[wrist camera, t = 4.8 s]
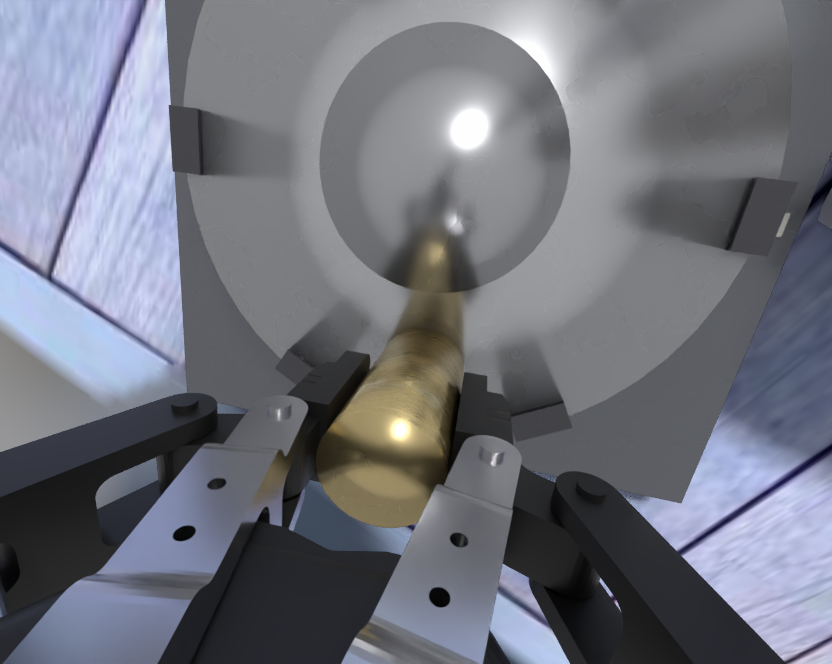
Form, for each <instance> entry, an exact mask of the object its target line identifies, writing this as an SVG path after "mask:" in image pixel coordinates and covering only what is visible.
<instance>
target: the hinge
mask: <svg viewBox="0 0 832 664" xmlns="http://www.w3.org/2000/svg"><path fill="white" fill-rule="evenodd" d="M818 222H820V223H821V224H823V225H824V226H826V227H828V228H829V229H831V230H832V188H831V190H830V192H829V194H828V196H827V197H826V199H825V201H824V203H823V205H822V207H821V210H820V214H819V218H818Z"/></svg>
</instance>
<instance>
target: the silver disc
mask: <svg viewBox="0 0 832 664" xmlns="http://www.w3.org/2000/svg"><path fill="white" fill-rule="evenodd" d="M791 90H792V69H791V58H790V47H789V36H788V26H787V21H786V17H785V13H784V9H783V5H782V1H781V0H205V1H204V4H203V7H202V9H201V12H200V15H199V18H198V21H197V25H196V29H195V34H194V38H193V42H192V47H191V51H190V55H189V60H188V67H187V76H186V85H185V93H184V107H181V106H173V105H169V116H170V132H171V149H172V166H173V171H175V172H182V173H187V179H188V184H189V188H190V193H191V198H192V202H193V207H194V211H195V215H196V218H197V221H198V225H199V228H200V231H201V234H202V237H203V240H204V243H205V246H206V248H207V251H208V253H209V255H210V257H211V259H212V262H213V264H214V266H215V268H216V270H217V273H218V275H219V277H220V279H221V281H222V283H223V284H224V286H225V288H226V289H227V291H228V293H229V294H230V296H231V298H232V299H233V301H234V303H235V305H236V306H237V308H238V309H239V310H240V312H241V313H242V315H243V316H244V317H245V319H246V320H247V321H248V323H249V324H250V325H251V327H252V328H253V329H254V331H255V332H256V333H257V334H258V335H259V337H260V338H261V339H262V340H263V341H264V342H265V343H266V344H267V345H268V346H269V347H270V348H271V349H272V350H273V352H274V353H275V354H276V355H277V356H278V357H279V358H280V359H281V360H280V361H279V363H278V364H277V366H276V367H275V369H276V370H277V371H279V372H280V373H281V374H283V375H284V376H285V377H286V378H288V379H289V380H290V381H292V382H293V383H294V384H296V385H297V384H298V383H299V382H300V381H302V379H303V378H304V377H305V376H306V375H308V373H309V372H310V371H311V370H312V369H314V368H315V367H316V366H318V365H321V364H323V363H326V362H333V363H335V362H336V361H337V360H338V359H339V358H340V357H341V356H342V355H343V353H344V352H345V351H347V350H349V351H354V352H360V353H365V354H369V355H370V370H369V372H368V373H367V375H366V376H365V377H364V379H363V380H362V382H361V383H360V385H359V386H358V387H357V389H356V390H355V392H354V393H353V395H352V396H351V397H350V399H349V400H348V402H347V403H346V405H345V406H344V407H343V409H342V410H341V412H340V413H339V414H338V416H337V417H336V419H335V420H334V422H333V423H332V424H331V426H330V427H329V429H328V430H327V432H326V433H325V434H324V436H323V437H322V439H321V441H320V443H319V446H318V449H317V454H316V469H317V474H318V478H319V481H320V483H321V485H322V487H323V489H324V491H325V492H326V494H327V495H328V497H329V498H330V499H331V500H332V502H333V503H334V504H335V505H336V506H337V507H339V508H340V509H341V510H342V511H343V512H345V513H346V514H348V515H349V516H351V517H353V518H355V519H357V520H359V521H361V522H364V523H366V524H370V525H373V526H378V527H386V528H398V527H404V526H409V525H412V524H415V523H417V522H418V521H419V519H420V517H421V515H422V513H423V511H424V509H425V507H426V505H427V503H428V501H429V499H430V497H431V495H432V493H433V491H434V489H435V487H436V486H437V484H442V485H444V484H445V482H446V479H447V477H448V473H449V465H450V459H451V452H452V446H453V439H454V433H455V426H456V420H457V413H458V407H459V400H460V394H461V388H462V383H463V377H464V372H469V373H474V374H480V375H485V376H487V391H488V392H493V393H498V394H502V395H503V396H504V397H505V398H506V400H507V401H508V402H509V403H510V412H511V413H510V415H511V423H512V432H513V434H514V437H515V440H516V442H519V441H523V440H527V439H531V438H535V437H539V436H543V435H547V434H551V433H555V432H559V431H563V430H567V429H571V428H573V427H572V424H571V422H570V419H569V416H571V415H574V414H576V413H578V412H580V411H582V410H585V409H587V408H589V407H591V406H594V405H596V404H598V403H600V402H602V401H605V400H607V399H608V398H610V397H612V396H613V395H615V394H617V393H618V392H620V391H622V390H623V389H625V388H627V387H628V386H630V385H632V384H633V383H635V382H637V381H638V380H640V379H641V378H642V377H643V376H645V375H646V374H647V373H649V372H650V371H651V370H653V369H654V368H655V367H656V366H658V365H659V364H660V363H662V362H663V361H664V360H666V359H667V358H668V357H669V356H670V355H671V354H672V353H673V352H674V351H675V350H676V349H677V348H678V347H679V346H681V345H682V344H683V343H684V342H685V341H686V340H687V339H688V338H689V337H690V336H691V335H692V334H693V333H694V332H695V331H696V330H697V329H698V328H699V326H700V325H701V324H702V323H703V321H704V320H705V319H706V318H707V317H708V315H709V314H710V313H711V312H712V310H713V309H714V308H715V307H716V305H717V304H718V303H719V302H720V300H721V299H722V298H723V297H724V295H725V294H726V292H727V290H728V289H729V287H730V286H731V284H732V283H733V281H734V279H735V278H736V276H737V275H738V273H739V271H740V270H741V268H742V267H743V265H744V263H745V262H746V260H747V258H748V256H749V254H753V255H760V256H767V257H768V255H769V252H770V250H771V247H772V245H773V242H774V240H775V237H776V235H777V233H778V230H779V228H780V225H781V223H782V220H783V218H784V216H785V213H786V211H787V208H788V206H789V203H790V201H791V198H792V196H793V194H794V191H795V189H796V186H797V184H798V182H793V181H785V180H779V178H780V175H781V170H782V164H783V159H784V154H785V148H786V143H787V138H788V132H789V127H790V110H791Z"/></svg>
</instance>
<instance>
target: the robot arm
mask: <svg viewBox="0 0 832 664" xmlns="http://www.w3.org/2000/svg"><path fill="white" fill-rule="evenodd" d="M369 370H370V355H369V354H365V353H360V352H354V351H349V350H347V351H345V352H344V353H343V355H342V356H341V357H340V358H339V359H338V360H337V361H336V362H335V363H333V362H326V363H323V364H321V365H318V366H316V367H315V368H314V369H312V370H311V371H310V372H309V373H308V375H306V376H305V377H304V378H303V379H302V381H300V382H299V383H298V384H297V385H296V386H295V387H294V388H293V389H292V390H291V391H290V392H289V393H288V394H287V395H277V396H270V397H266V398H263V399H260V400H258V401H256V402H255V403H254V404H253V405H252V406H251V407H250V409H249V410H248V411H247V413H246V414H217V401H216V400H215V399H214V398H213V397H211V396H209V395H206V394H202V393H184V394H177V395H173V396H170V397H166V398H163V399H160V400H157V401H154V402H151V403H148V404H145V405H142V406H139V407H136V408H133V409H130V410H127V411H124V412H121V413H118V414H115V415H112V416H109V417H106V418H103V419H100V420H97V421H94V422H91V423H87V424H85V425H81V426H78V427H75V428H73V429H70V430H66V431H63V432H60V433H57V434H54V435H51V436H48V437H45V438H42V439H39V440H36V441H33V442H30V443H27V444H24V445H21V446H18V447H15V448H12V449H9V450H6V451H3V452H0V664H511V663H510V662H509V660H508V658H507V657H506V655H505V654H504V652H503V650H502V649H501V647H500V646H499V644H498V642H497V641H496V639H495V638H494V636H493V634H492V633H491V631H490V625H491V620H492V615H493V609H494V604H495V599H496V594H497V589H498V584H499V579H500V574H501V569H502V564H504V565H506V566H508V567H510V568H512V569H514V570H515V571H517V572H519V573H521V574H523V575H525V576H527V577H529V585H530V588H531V591H532V593H533V595H534V597H535V599H536V600H537V602H538V604H539V606H540V608H541V610H542V612H543V614H544V615H545V617H546V619H547V621H548V623H549V625H550V627H551V629H552V630H553V632H554V634H555V636H556V638H557V640H558V642H559V644H560V645H561V647H562V649H563V651H564V653H565V655H566V657H567V659H568V660H569V662H570V664H786V663H785V662H784V661H783V660H782V659H781V658H780V657H779V656H778V655H777V654H776V653H775V652H774V651H773V650H772V649H771V648H770V647H769V645H768V644H767V643H766V642H765V641H764V640H763V639H762V638H761V637H760V636H759V635H758V634H757V633H756V632H755V631H754V630H753V629H752V628H751V627H750V626H749V625H748V624H747V623H746V622H745V621H744V620H743V619H742V618H741V617H740V616H739V615H738V614H737V613H736V612H735V611H734V610H733V609H732V608H731V607H730V605H729V604H728V603H727V602H726V601H725V600H724V599H723V598H722V597H721V596H720V595H719V594H718V593H717V592H716V591H715V590H714V589H713V588H712V587H711V586H710V585H709V584H708V583H707V582H706V581H705V580H704V579H703V578H702V577H701V576H700V575H699V574H698V573H697V572H696V571H695V570H694V569H693V568H692V567H691V565H690V564H689V563H688V562H687V561H686V560H685V559H684V558H683V557H682V556H681V555H680V554H679V553H678V552H677V551H676V550H675V549H674V548H673V547H672V546H671V545H670V544H669V543H668V542H667V541H666V540H665V539H664V538H663V537H662V536H661V535H660V534H659V533H658V532H657V531H656V530H655V529H654V528H653V527H652V526H651V524H650V523H649V522H648V521H647V520H646V519H645V518H644V517H643V516H642V515H641V514H640V513H639V512H638V511H637V510H636V509H635V508H634V507H633V506H632V505H631V504H630V503H629V502H628V501H627V500H626V499H625V498H624V497H623V496H622V495H621V494H620V493H619V492H618V491H617V490H616V489H615V488H614V487H613V486H612V485H610V484H609V483H608V482H606V481H604V480H603V479H601V478H599V477H596V476H594V475H591V474H588V473H584V472H579V471H568V472H564V473H562V474H560V475H559V476H558V477H557V479H556V483H555V482H552V481H550V480H547V479H545V478H543V477H540V476H538V475H536V474H534V473H533V472H531V471H529V470H528V469H527V468H525V467H524V466H523V465H522V464H521V462H522V457H521V454H520V452H519V451H518V450H517V449H516V448H515V447H514V444H513V433H512V423H511V415H510V413H511V412H510V403H509V402H508V401H507V400H506V398H505V397H504V396H503V395H502V394H498V393H493V392H488V391H487V376H485V375H480V374H474V373H469V372H464V377H463V383H462V388H461V394H460V400H459V407H458V413H457V420H456V426H455V433H454V439H453V446H452V452H451V459H450V465H449V473H448V477H447V479H446V482H445V484H444V485H442V484H437V486H436V487H435V489H434V491H433V493H432V495H431V497H430V499H429V501H428V503H427V505H426V507H425V509H424V511H423V513H422V515H421V517H420V519H419V521H418V523H417V525H416V527H415V530H414V532H413V534H412V536H411V538H410V540H409V542H408V544H407V546H406V548H405V550H404V552H403V554H402V555H398V554H394V553H390V552H369V551H332V550H328V549H326V548H324V547H322V546H320V545H318V544H316V543H314V542H312V541H310V540H308V539H307V538H305V537H303V536H301V535H299V534H297V533H295V532H293V530H294V528H295V525H296V522H297V519H298V516H299V513H300V510H301V507H302V504H303V501H304V497H305V496H304V495H305V487H306V485H307V484H308V482H309V480H313V481H318V482H320V481H319V478H318V474H317V469H316V454H317V449H318V446H319V443H320V441H321V439H322V437H323V436H324V434H325V433H326V432H327V430H328V429H329V427H330V426H331V424H332V423H333V422H334V420H335V419H336V417H337V416H338V414H339V413H340V412H341V410H342V409H343V407H344V406H345V405H346V403H347V402H348V400H349V399H350V397H351V396H352V395H353V393H354V392H355V390H356V389H357V387H358V386H359V385H360V383H361V382H362V380H363V379H364V377H365V376H366V375H367V373H368V372H369ZM155 457H156V460H157V470H158V480H157V481H155V482H153V483H151V484H149V485H147V486H145V487H143V488H141V489H139V490H136V491H135V492H132V493H130V494H128V495H126V496H124V497H122V498H120V499H118V500H116V501H114V502H112V503H110V504H107V505H105V506H103V507H101V508H99V509H97V507H96V501H95V496H96V492H97V490H98V488H99V487H100V486H101V485H102V484H103V483H104V482H105V481H106V480H107V479H109V478H110V477H112V476H114V475H116V474H118V473H121V472H123V471H125V470H128V469H130V468H132V467H134V466H137V465H139V464H141V463H143V462H146V461H148V460H150V459H153V458H155ZM600 577H601V579H602V580H603V581H604V583H605V584H606V586H607V587H608V588H609V590H610V591H611V592H612V594H613V595H614V597H615V598H616V600H617V602H618V604H619V607H620V609H621V611H620V610H619V609H618V607H617V606H616V604H615V603H614V602H613V600H612V599H611V597H610V596H609V595H608V593H607V592H606V590H605V589H604V588H603V586H602V585H601V583H600V582H599V580H600ZM621 612H622V613H621Z"/></svg>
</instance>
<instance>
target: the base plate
mask: <svg viewBox="0 0 832 664" xmlns="http://www.w3.org/2000/svg"><path fill="white" fill-rule="evenodd" d="M204 1H205V0H165V8H166V25H167V43H168V61H169V79H170V96H171V105H173V106H181V107H184V93H185V85H186V76H187V67H188V60H189V55H190V51H191V47H192V42H193V38H194V34H195V29H196V25H197V21H198V18H199V15H200V12H201V9H202V7H203V4H204ZM781 1H782V5H783V9H784V13H785V17H786V21H787V26H788V36H789V47H790V58H791V69H792V90H791V110H790V127H789V132H788V138H787V143H786V148H785V154H784V159H783V164H782V170H781V175H780V178H779V180H785V181H793V182H798V184H797V186H796V189H795V191H794V194H793V196H792V198H791V201H790V203H789V206H788V208H787V211H786V213H785V216H784V218H783V220H782V223H781V225H780V228H779V230H778V233H777V235H776V237H775V240H774V242H773V245H772V247H771V250H770V252H769V255H768V257H767V256H760V255H753V254H749V256H748V258H747V260H746V262H745V263H744V265H743V267H742V268H741V270H740V271H739V273H738V275H737V276H736V278H735V279H734V281H733V283H732V284H731V286H730V287H729V289H728V290H727V292H726V294H725V295H724V297H723V298H722V299H721V300H720V302H719V303H718V304H717V305H716V307H715V308H714V309H713V310H712V312H711V313H710V314H709V315H708V317H707V318H706V319H705V320H704V321H703V323H702V324H701V325H700V326H699V328H698V329H697V330H696V331H695V332H694V333H693V334H692V335H691V336H690V337H689V338H688V339H687V340H686V341H685V342H684V343H683V344H682V345H681V346H679V347H678V348H677V349H676V350H675V351H674V352H673V353H672V354H671V355H670V356H669V357H668V358H667V359H666V360H664V361H663V362H662V363H660V364H659V365H658V366H656V367H655V368H654V369H653V370H651V371H650V372H649V373H647V374H646V375H645V376H643V377H642V378H641V379H640V380H638V381H637V382H635V383H633V384H632V385H630V386H628V387H627V388H625V389H623V390H622V391H620V392H618V393H617V394H615V395H613V396H612V397H610V398H608V399H607V400H605V401H602V402H600V403H598V404H596V405H594V406H591V407H589V408H587V409H585V410H582V411H580V412H578V413H576V414H574V415H571V416H569V419H570V422H571V424H572V427H573V428H571V429H567V430H563V431H559V432H555V433H551V434H547V435H543V436H539V437H535V438H531V439H527V440H523V441H519V442H516V440H515V437H514V434H513V444H514V447H515V448H516V449H517V450H518V451H519V452H520V454H521V457H522V462H521V464H522V465H523V466H524V467H525V468H527V469H528V470H530V471H534V472H539V473H543V474H548V475H553V476H557V477H558V476H559V475H560V474H562V473H564V472H568V471H579V472H584V473H588V474H591V475H594V476H596V477H599V478H601V479H603V480H604V481H606V482H608V483H609V484H610V485H612V486H613V487H614V488H615V489H617V490H622V491H626V492H631V493H636V494H640V495H645V496H649V497H654V498H659V499H663V500H668V501H673V502H677V503H682V500H683V498H684V496H685V493H686V491H687V489H688V486H689V484H690V482H691V479H692V477H693V475H694V472H695V470H696V468H697V465H698V463H699V461H700V458H701V456H702V454H703V451H704V449H705V447H706V444H707V442H708V440H709V437H710V435H711V433H712V430H713V428H714V426H715V423H716V421H717V419H718V416H719V414H720V412H721V409H722V407H723V405H724V402H725V400H726V398H727V395H728V393H729V391H730V389H731V386H732V384H733V382H734V379H735V377H736V375H737V372H738V370H739V368H740V365H741V363H742V361H743V358H744V356H745V354H746V351H747V349H748V347H749V344H750V342H751V340H752V337H753V335H754V333H755V330H756V328H757V326H758V323H759V321H760V319H761V316H762V314H763V312H764V309H765V307H766V305H767V302H768V300H769V298H770V295H771V293H772V291H773V288H774V286H775V284H776V281H777V279H778V277H779V274H780V272H781V270H782V267H783V265H784V263H785V260H786V258H787V256H788V253H789V251H790V249H791V246H792V244H793V242H794V239H795V237H796V235H797V232H798V230H799V228H800V225H801V223H802V221H803V218H804V216H805V214H806V211H807V209H808V207H809V204H810V202H811V200H812V197H813V195H814V193H815V190H816V188H817V186H818V183H819V181H820V179H821V176H822V174H823V172H824V169H825V167H826V165H827V162H828V160H829V158H830V155H831V153H832V0H781ZM175 185H176V203H177V221H178V239H179V256H180V274H181V292H182V310H183V328H184V345H185V363H186V381H187V393H202V394H206V395H209V396H211V397H213V398H214V399H215V400H216V401H217V403H221V404H226V405H230V406H235V407H239V408H244V409H248V410H249V409H250V407H251V406H252V405H253V404H254V403H255V402H256V401H258V400H260V399H263V398H266V397H270V396H277V395H287V394H288V393H289V392H290V391H291V390H292V389H293V388H294V387H295V386H296V384H294V383H293V382H292V381H290V380H289V379H288V378H286V377H285V376H284V375H283V374H281V373H280V372H279V371H277V370H276V369H275V367H276V366H277V364H278V363H279V361H280V360H281V359H280V358H279V357H278V356H277V355H276V354H275V353H274V352H273V350H272V349H271V348H270V347H269V346H268V345H267V344H266V343H265V342H264V341H263V340H262V339H261V338H260V337H259V335H258V334H257V333H256V332H255V331H254V329H253V328H252V327H251V325H250V324H249V323H248V321H247V320H246V319H245V317H244V316H243V315H242V313H241V312H240V310H239V309H238V308H237V306H236V305H235V303H234V301H233V299H232V298H231V296H230V294H229V293H228V291H227V289H226V288H225V286H224V284H223V283H222V281H221V279H220V277H219V275H218V273H217V270H216V268H215V266H214V264H213V262H212V259H211V257H210V255H209V253H208V251H207V248H206V246H205V243H204V240H203V237H202V234H201V231H200V228H199V225H198V221H197V218H196V215H195V211H194V207H193V202H192V198H191V193H190V188H189V184H188V179H187V173H182V172H175ZM512 433H513V432H512Z"/></svg>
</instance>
